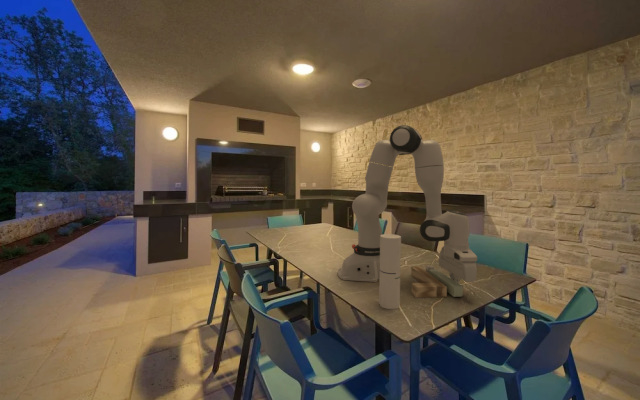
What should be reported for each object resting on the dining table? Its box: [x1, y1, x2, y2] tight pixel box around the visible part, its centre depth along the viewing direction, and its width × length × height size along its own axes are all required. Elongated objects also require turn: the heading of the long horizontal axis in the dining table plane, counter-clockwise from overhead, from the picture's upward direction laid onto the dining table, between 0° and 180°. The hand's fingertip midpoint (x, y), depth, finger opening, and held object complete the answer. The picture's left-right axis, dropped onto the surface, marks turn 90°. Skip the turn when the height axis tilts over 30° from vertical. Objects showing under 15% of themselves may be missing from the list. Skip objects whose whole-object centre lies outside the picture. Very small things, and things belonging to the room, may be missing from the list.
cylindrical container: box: [378, 233, 402, 310], centre depth 91 cm, size 7×7×25 cm
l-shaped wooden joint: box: [410, 265, 448, 298], centre depth 109 cm, size 13×24×4 cm, turn 3°
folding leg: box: [425, 264, 464, 298], centre depth 108 cm, size 23×4×5 cm, turn 5°
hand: (454, 284), depth 103 cm, fingers closed
